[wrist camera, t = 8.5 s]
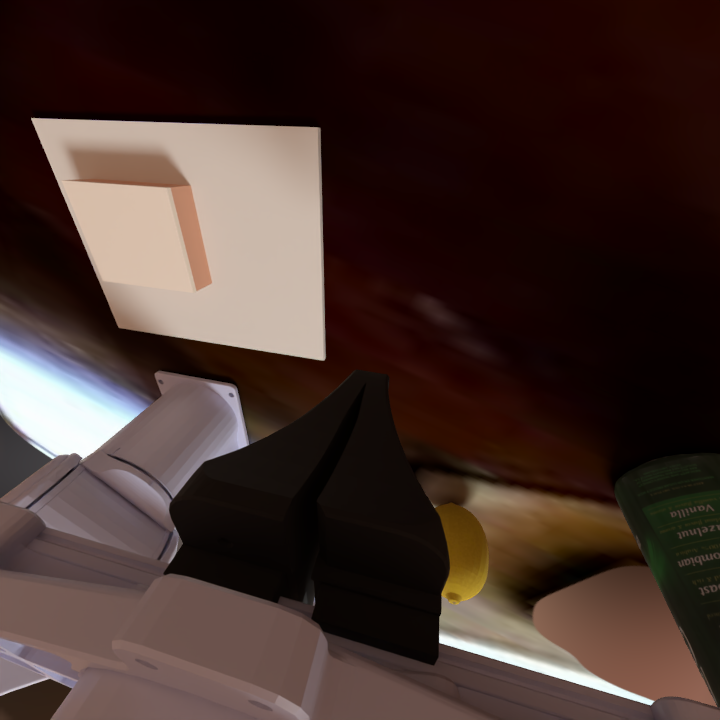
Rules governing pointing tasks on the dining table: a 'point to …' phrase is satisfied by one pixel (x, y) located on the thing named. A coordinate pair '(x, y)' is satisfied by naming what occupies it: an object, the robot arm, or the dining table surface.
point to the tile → (142, 232)
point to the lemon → (463, 553)
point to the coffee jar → (682, 545)
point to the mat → (218, 225)
